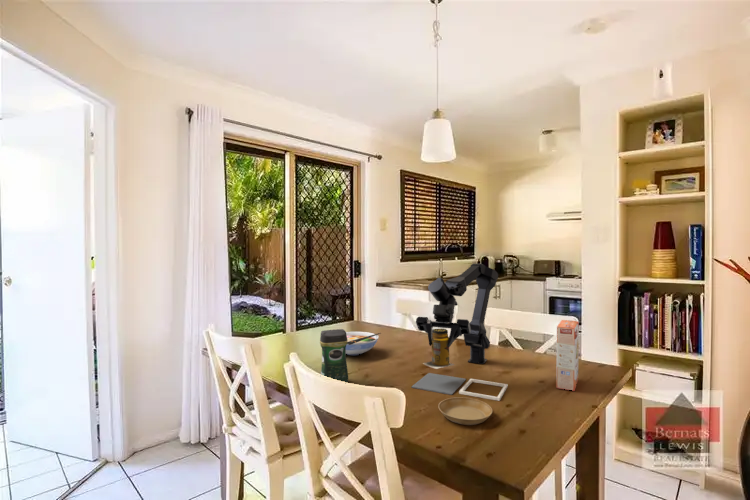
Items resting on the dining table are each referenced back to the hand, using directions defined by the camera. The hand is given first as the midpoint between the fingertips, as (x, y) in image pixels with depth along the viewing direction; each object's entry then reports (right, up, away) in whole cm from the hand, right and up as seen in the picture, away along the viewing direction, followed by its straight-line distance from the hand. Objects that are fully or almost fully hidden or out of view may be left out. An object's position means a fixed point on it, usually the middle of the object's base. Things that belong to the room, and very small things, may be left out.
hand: (438, 346), depth 133 cm
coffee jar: (-36, -14, +3) cm, 39 cm away
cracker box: (+44, -13, 0) cm, 46 cm away
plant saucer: (+3, -14, -24) cm, 28 cm away
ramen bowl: (-31, -14, +41) cm, 53 cm away
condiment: (0, -7, +1) cm, 7 cm away
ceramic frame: (+14, -13, -5) cm, 20 cm away
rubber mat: (0, -13, +1) cm, 13 cm away
